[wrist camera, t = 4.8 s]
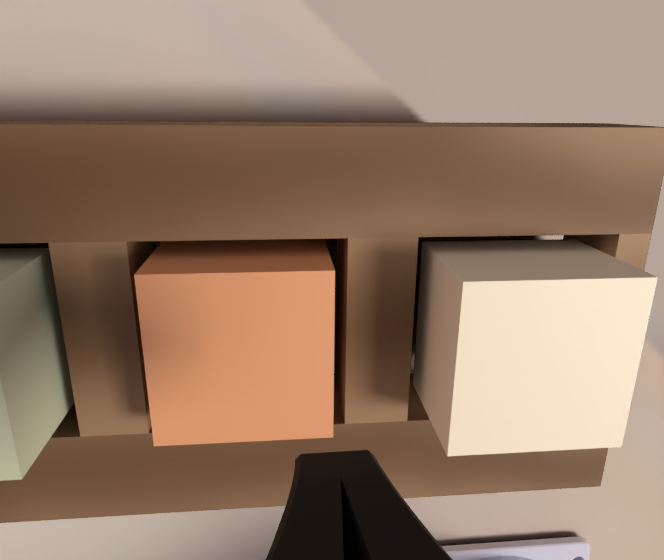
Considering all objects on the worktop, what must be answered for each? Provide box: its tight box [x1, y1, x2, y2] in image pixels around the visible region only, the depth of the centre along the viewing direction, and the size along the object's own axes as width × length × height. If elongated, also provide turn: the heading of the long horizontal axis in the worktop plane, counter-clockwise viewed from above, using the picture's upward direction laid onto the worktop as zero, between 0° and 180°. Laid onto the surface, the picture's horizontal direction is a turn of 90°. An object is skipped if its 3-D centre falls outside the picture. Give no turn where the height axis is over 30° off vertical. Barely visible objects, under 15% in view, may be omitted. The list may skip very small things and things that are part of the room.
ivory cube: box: [413, 239, 658, 456], centre depth 16 cm, size 5×5×4 cm
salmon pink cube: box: [134, 239, 335, 446], centre depth 16 cm, size 5×5×4 cm
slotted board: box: [0, 120, 664, 523], centre depth 17 cm, size 12×24×3 cm, turn 89°
